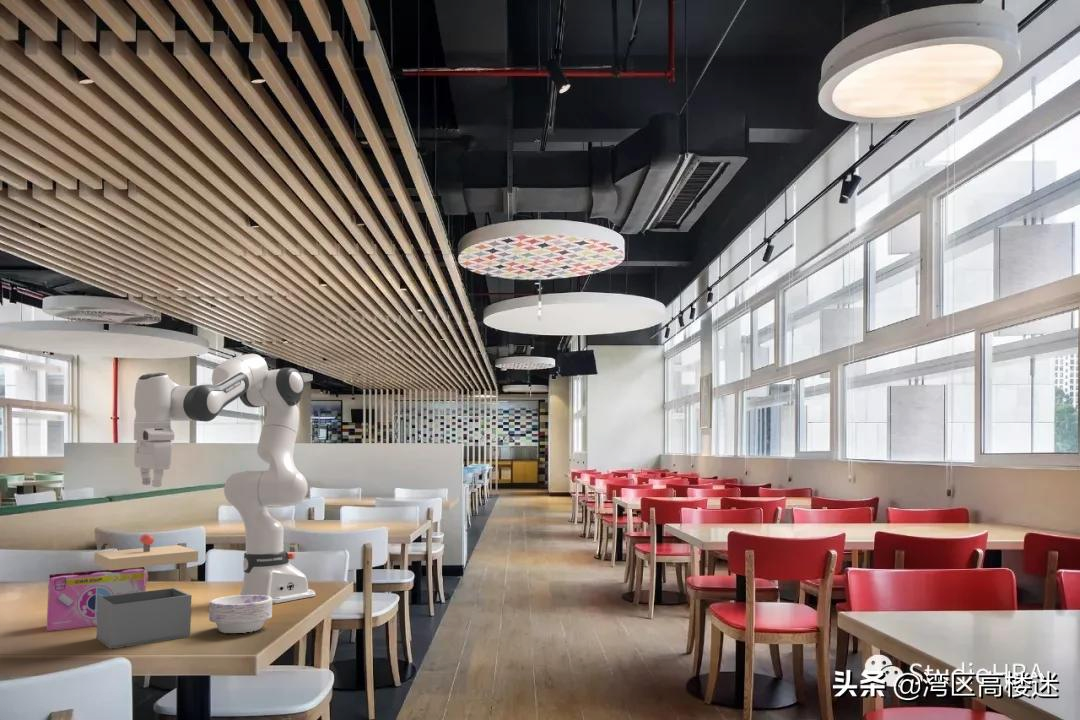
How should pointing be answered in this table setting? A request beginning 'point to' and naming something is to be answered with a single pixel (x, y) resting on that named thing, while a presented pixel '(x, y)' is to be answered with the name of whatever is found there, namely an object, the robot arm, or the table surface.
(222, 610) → the paper bowls
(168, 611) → the carton
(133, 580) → the gum box
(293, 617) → the table surface
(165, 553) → the lid
